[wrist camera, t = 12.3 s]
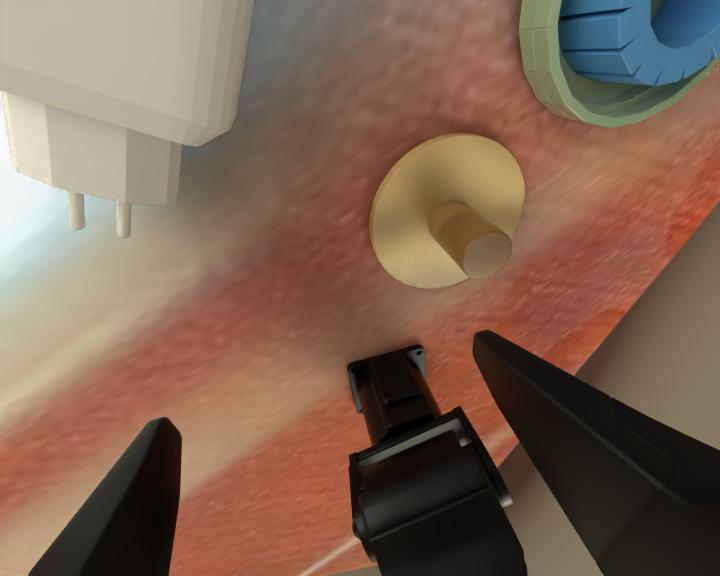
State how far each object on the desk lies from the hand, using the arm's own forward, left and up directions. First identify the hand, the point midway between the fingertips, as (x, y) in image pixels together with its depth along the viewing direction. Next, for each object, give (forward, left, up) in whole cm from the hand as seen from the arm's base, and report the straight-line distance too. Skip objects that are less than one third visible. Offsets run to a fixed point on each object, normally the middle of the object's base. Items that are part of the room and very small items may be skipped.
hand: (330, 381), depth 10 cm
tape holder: (-2, -9, -12) cm, 15 cm away
